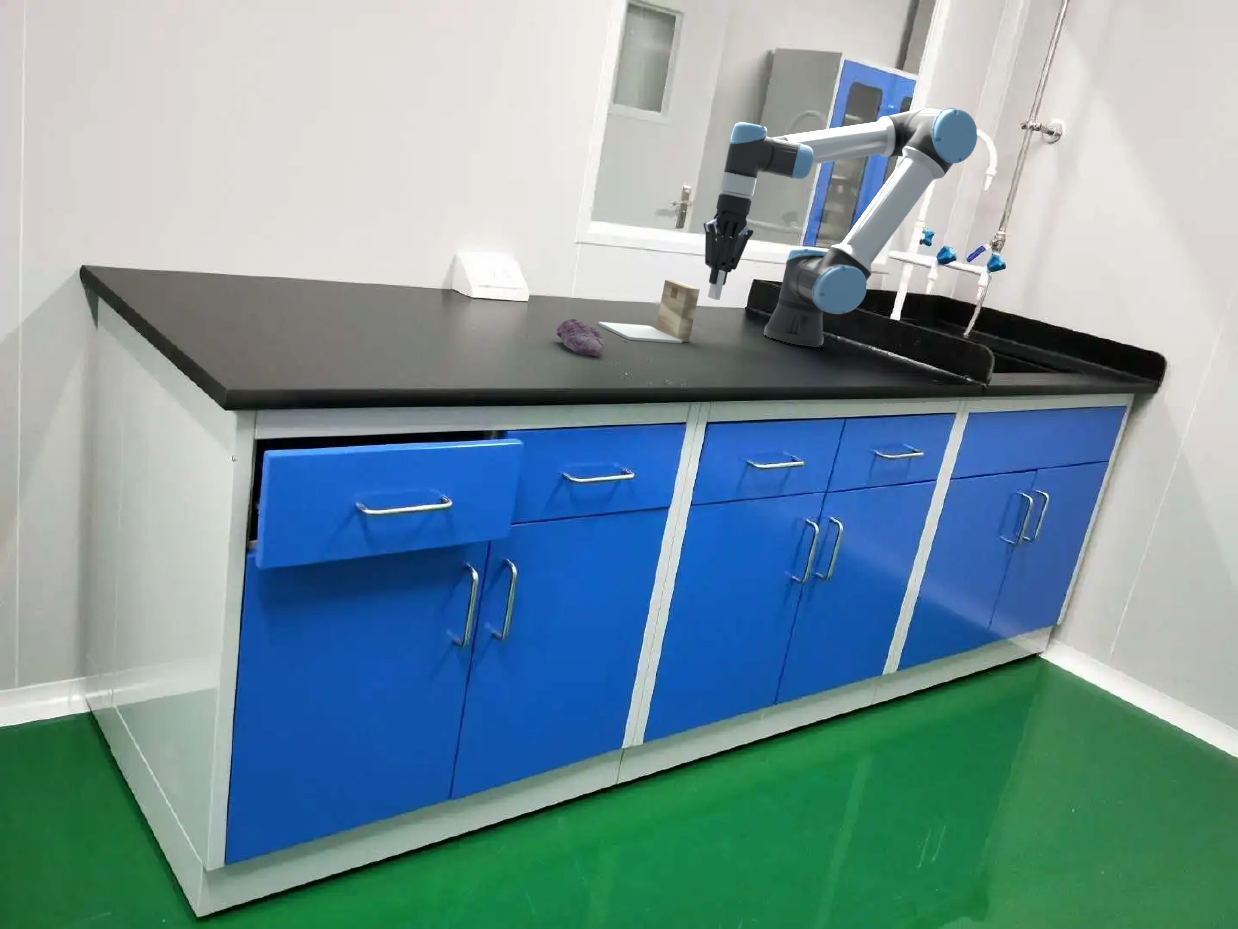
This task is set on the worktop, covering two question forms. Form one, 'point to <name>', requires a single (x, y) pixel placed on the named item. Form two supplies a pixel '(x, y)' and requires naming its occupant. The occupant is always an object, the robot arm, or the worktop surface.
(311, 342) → the worktop surface
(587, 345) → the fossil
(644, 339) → the mat
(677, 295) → the slab
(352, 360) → the worktop surface
